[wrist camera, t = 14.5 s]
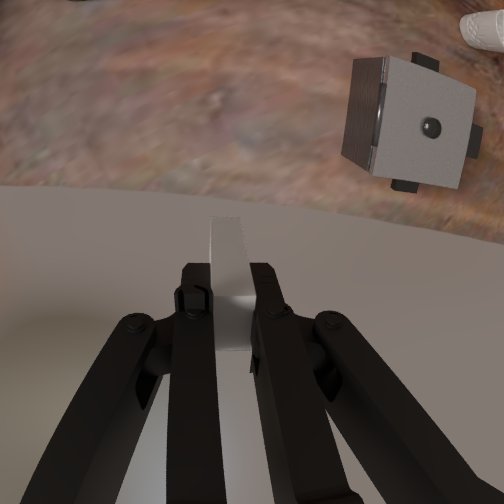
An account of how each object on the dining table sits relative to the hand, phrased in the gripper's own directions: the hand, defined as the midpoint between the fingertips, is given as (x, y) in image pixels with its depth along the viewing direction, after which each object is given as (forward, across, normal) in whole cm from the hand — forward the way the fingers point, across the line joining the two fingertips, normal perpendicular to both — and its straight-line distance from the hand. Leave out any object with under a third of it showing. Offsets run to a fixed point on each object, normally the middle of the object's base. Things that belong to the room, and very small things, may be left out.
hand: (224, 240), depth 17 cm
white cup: (+30, +42, +28) cm, 59 cm away
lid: (+20, +27, +7) cm, 35 cm away
